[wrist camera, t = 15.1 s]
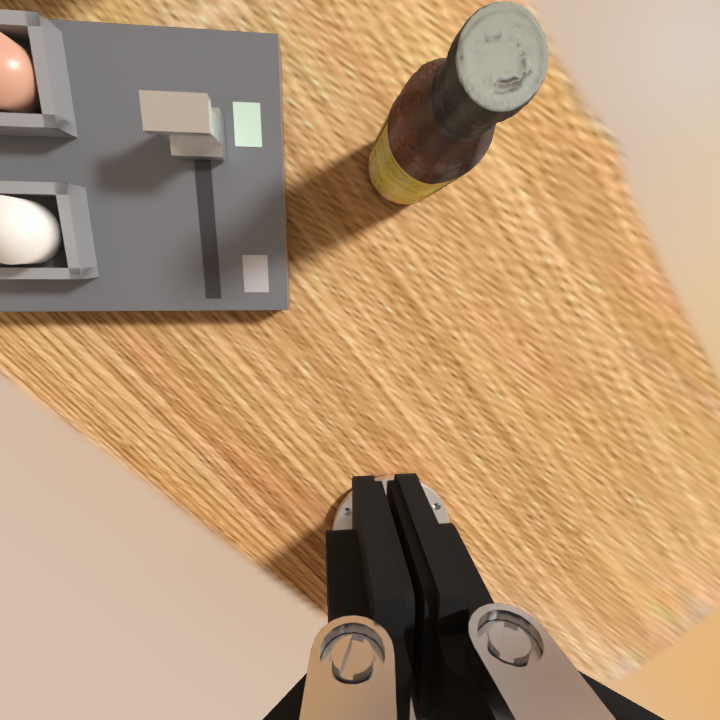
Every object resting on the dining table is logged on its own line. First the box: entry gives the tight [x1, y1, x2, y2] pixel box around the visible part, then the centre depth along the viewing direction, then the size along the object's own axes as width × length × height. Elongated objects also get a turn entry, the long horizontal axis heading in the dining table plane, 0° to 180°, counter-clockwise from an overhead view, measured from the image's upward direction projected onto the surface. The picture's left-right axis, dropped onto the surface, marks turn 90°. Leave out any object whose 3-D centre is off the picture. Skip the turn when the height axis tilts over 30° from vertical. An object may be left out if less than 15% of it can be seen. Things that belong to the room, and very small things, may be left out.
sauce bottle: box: [368, 2, 549, 205], centre depth 26 cm, size 6×6×20 cm
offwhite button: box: [0, 195, 62, 265], centre depth 28 cm, size 4×4×2 cm
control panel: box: [0, 9, 290, 312], centre depth 31 cm, size 20×24×6 cm
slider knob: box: [139, 90, 226, 160], centre depth 28 cm, size 3×4×6 cm
